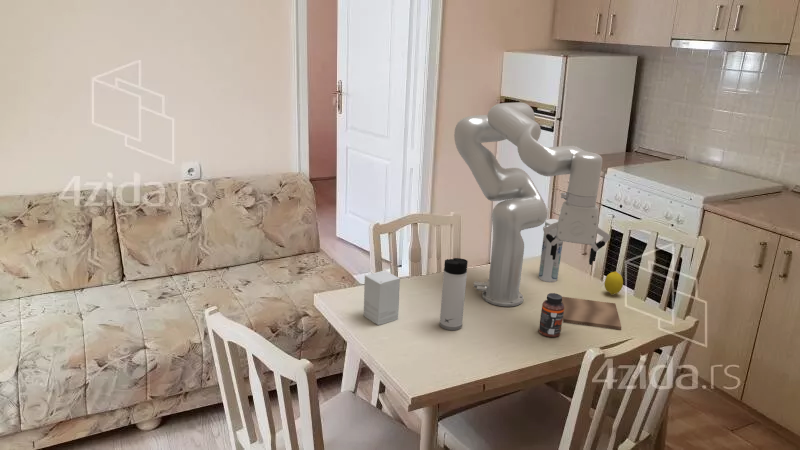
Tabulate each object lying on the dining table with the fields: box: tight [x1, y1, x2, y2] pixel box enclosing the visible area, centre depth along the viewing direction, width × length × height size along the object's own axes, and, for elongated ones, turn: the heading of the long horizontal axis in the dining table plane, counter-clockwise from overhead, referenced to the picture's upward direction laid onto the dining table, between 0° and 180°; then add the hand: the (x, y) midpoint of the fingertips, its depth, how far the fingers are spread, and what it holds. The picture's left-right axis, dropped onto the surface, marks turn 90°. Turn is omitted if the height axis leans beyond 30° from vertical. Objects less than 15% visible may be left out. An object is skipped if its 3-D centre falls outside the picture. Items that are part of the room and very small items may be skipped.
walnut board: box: [562, 296, 622, 331], centre depth 190 cm, size 16×16×1 cm
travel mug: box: [439, 257, 469, 331], centre depth 175 cm, size 6×7×20 cm
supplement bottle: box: [538, 292, 564, 338], centre depth 176 cm, size 6×6×11 cm
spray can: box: [538, 218, 564, 283], centre depth 212 cm, size 6×6×20 cm
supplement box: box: [363, 270, 401, 326], centre depth 179 cm, size 7×7×13 cm
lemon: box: [604, 271, 624, 296], centre depth 203 cm, size 6×6×8 cm
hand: (572, 260), depth 172 cm, fingers open, 9 cm apart
